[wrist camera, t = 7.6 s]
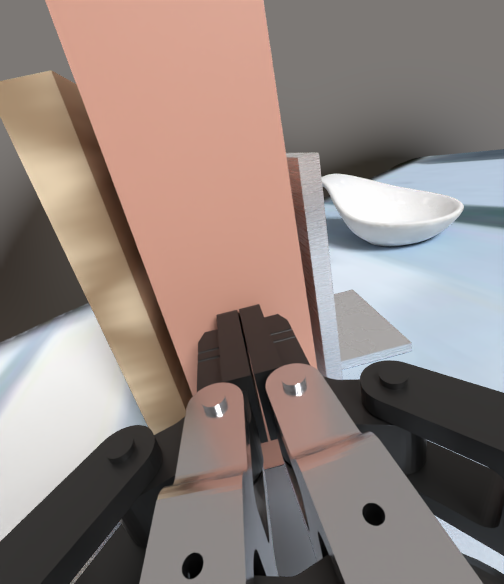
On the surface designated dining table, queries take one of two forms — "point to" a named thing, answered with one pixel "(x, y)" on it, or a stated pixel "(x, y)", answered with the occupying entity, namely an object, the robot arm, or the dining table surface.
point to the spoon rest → (390, 210)
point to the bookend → (319, 288)
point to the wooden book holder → (95, 236)
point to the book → (194, 158)
